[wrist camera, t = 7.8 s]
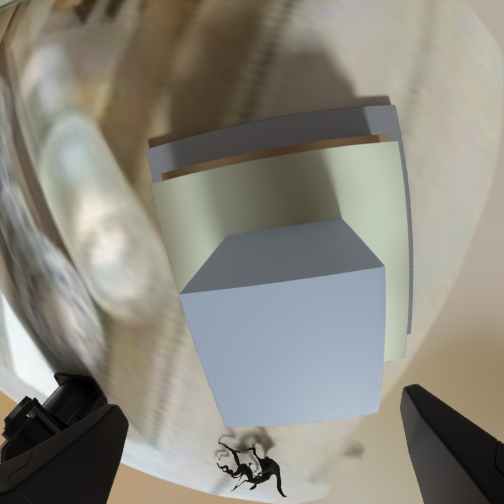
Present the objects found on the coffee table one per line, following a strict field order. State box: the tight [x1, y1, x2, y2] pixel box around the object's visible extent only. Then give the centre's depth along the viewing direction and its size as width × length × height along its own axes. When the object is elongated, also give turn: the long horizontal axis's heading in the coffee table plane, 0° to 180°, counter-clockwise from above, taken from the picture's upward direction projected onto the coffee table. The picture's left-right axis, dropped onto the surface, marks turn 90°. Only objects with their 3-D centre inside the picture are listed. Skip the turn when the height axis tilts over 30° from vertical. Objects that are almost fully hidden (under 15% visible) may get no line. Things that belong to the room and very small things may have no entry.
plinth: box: [151, 134, 409, 362], centre depth 16 cm, size 12×12×6 cm
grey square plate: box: [147, 105, 413, 335], centre depth 19 cm, size 16×16×1 cm
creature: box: [217, 442, 287, 497], centre depth 24 cm, size 8×5×8 cm
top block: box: [179, 218, 386, 427], centre depth 10 cm, size 5×5×6 cm
